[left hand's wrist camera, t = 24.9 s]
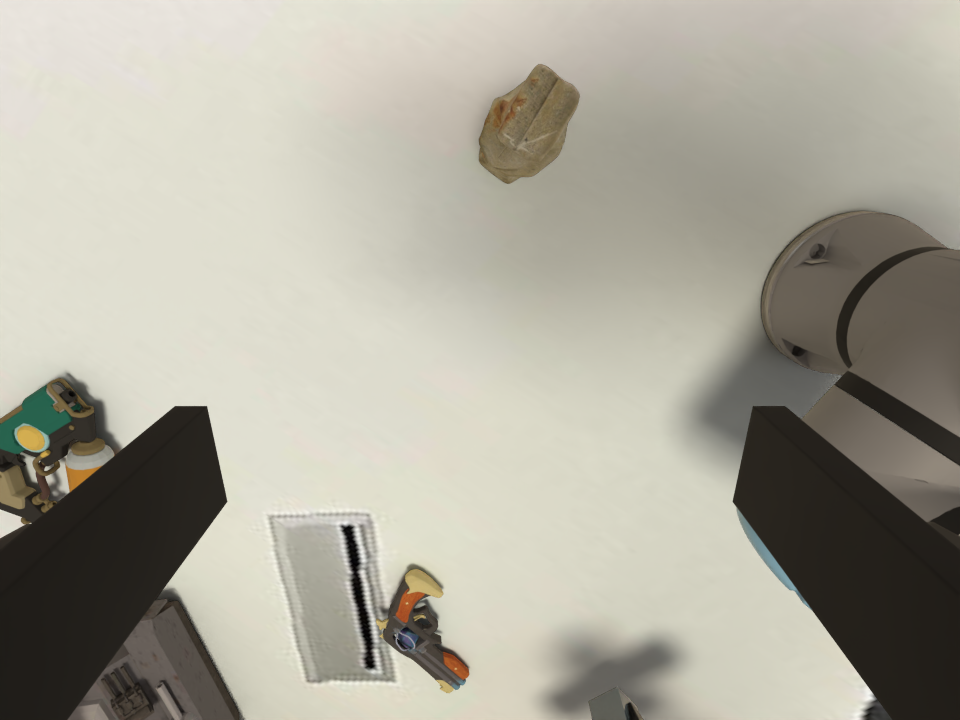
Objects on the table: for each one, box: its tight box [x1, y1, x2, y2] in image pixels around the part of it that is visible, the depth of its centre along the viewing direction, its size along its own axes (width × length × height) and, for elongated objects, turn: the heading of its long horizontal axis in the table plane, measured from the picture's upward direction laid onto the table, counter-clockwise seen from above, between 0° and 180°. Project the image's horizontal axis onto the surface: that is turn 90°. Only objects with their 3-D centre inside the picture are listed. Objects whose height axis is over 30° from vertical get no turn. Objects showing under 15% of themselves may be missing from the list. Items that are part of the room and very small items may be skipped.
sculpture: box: [479, 64, 580, 184], centre depth 38 cm, size 6×7×15 cm
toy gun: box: [376, 569, 469, 693], centre depth 65 cm, size 3×19×10 cm
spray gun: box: [0, 378, 115, 524], centre depth 55 cm, size 4×17×15 cm
